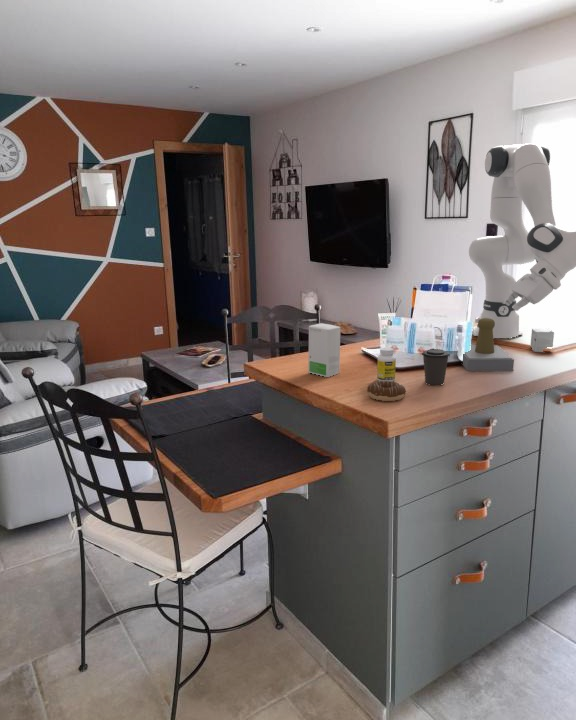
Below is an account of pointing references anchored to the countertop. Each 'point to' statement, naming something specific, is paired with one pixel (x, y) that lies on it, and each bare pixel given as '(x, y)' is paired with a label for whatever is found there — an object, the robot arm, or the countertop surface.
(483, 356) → the plinth
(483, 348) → the cork
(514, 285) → the robot arm
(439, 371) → the coffee cup
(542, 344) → the skincare box
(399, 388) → the donut
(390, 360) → the supplement bottle
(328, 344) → the skincare box
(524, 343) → the countertop surface
